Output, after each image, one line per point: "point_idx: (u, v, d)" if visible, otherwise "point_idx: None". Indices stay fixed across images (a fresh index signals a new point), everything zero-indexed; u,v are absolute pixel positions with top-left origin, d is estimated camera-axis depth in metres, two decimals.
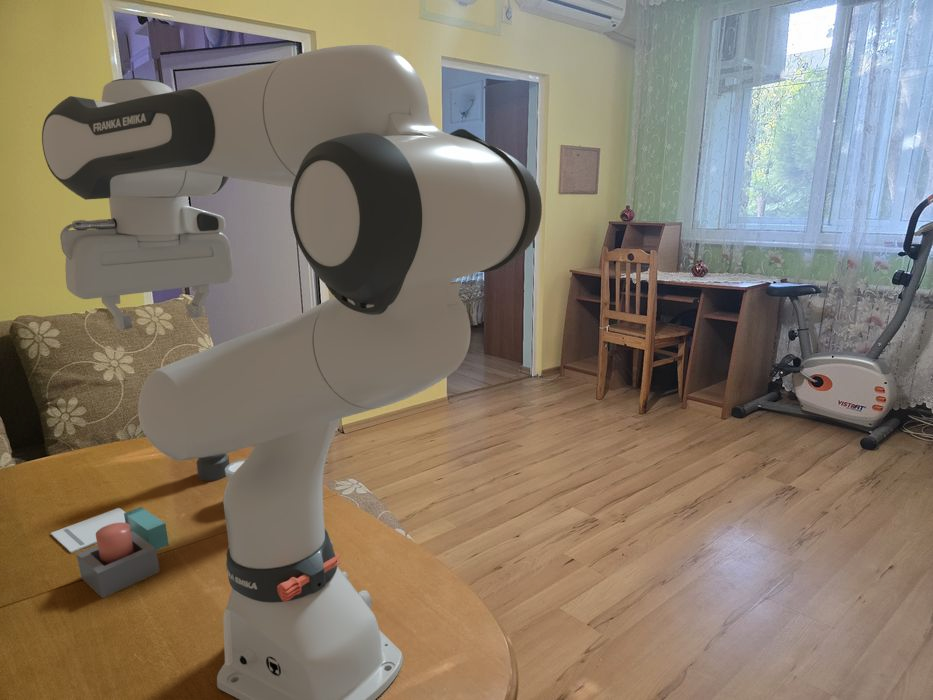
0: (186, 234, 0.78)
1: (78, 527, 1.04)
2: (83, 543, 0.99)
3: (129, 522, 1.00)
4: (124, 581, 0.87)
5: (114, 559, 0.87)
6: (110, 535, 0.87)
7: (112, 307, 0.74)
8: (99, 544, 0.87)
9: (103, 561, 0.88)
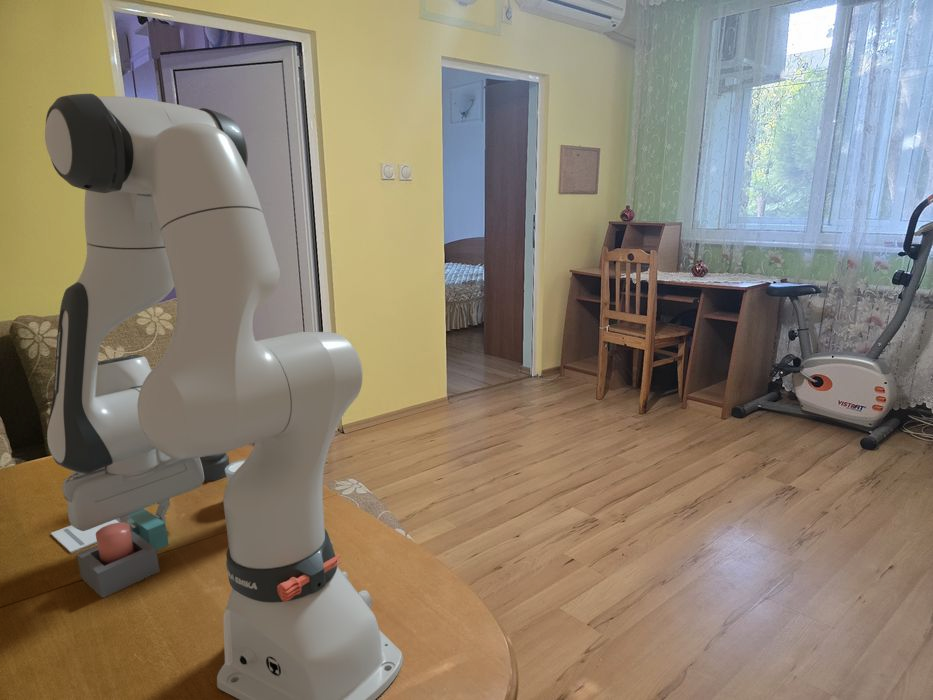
0: None
1: None
2: (83, 543, 0.99)
3: (129, 522, 1.00)
4: (124, 581, 0.87)
5: (114, 559, 0.87)
6: (110, 535, 0.87)
7: None
8: (99, 544, 0.87)
9: (103, 561, 0.88)
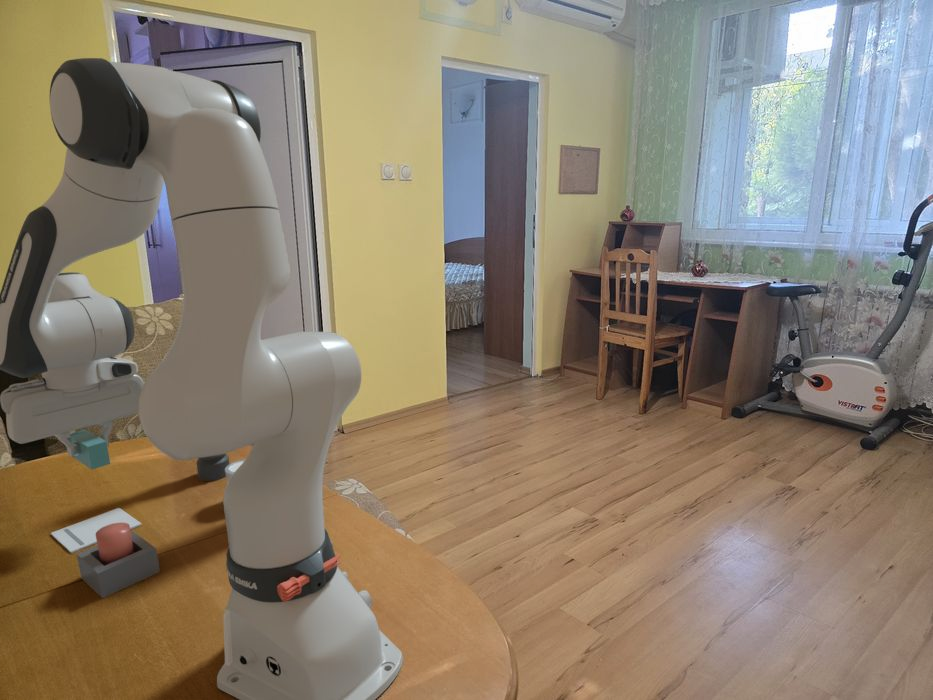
0: (104, 381, 0.99)
1: (78, 527, 1.04)
2: (83, 543, 0.99)
3: (72, 442, 1.01)
4: (124, 581, 0.87)
5: (114, 559, 0.87)
6: (110, 535, 0.87)
7: (64, 441, 0.97)
8: (99, 544, 0.87)
9: (103, 561, 0.88)
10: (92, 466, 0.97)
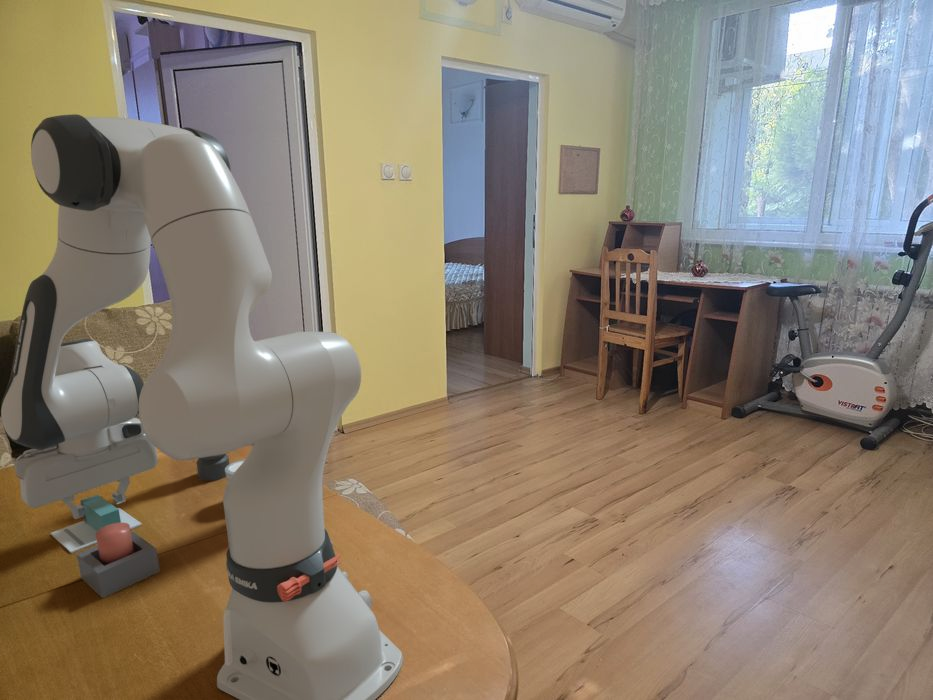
0: None
1: (78, 527, 1.04)
2: (83, 543, 0.99)
3: (85, 508, 1.04)
4: (124, 581, 0.87)
5: (114, 559, 0.87)
6: (110, 535, 0.87)
7: (68, 504, 0.98)
8: (99, 544, 0.87)
9: (103, 561, 0.88)
10: None
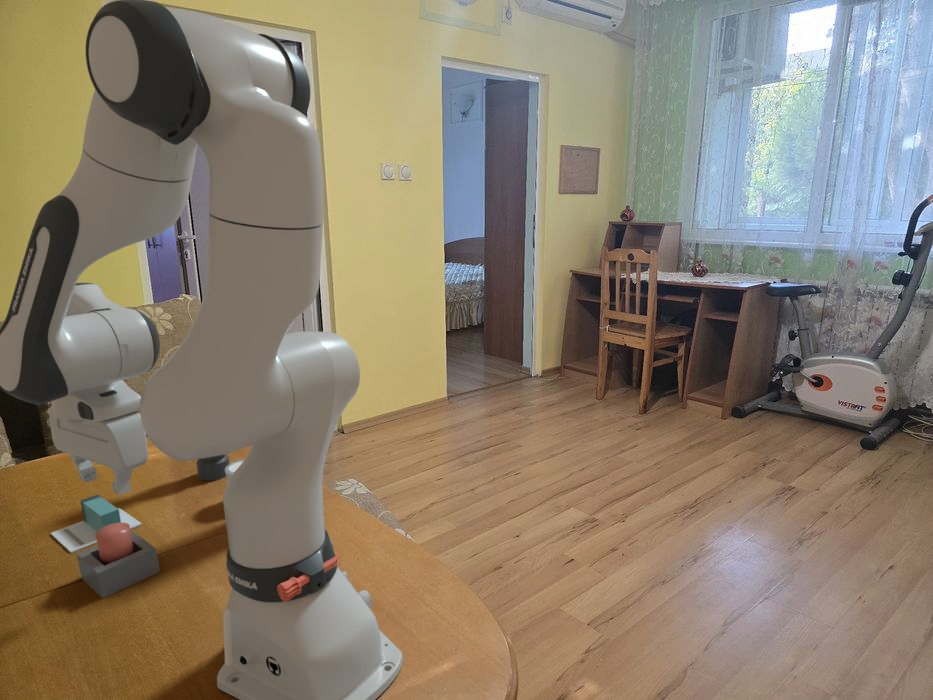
0: None
1: (78, 527, 1.04)
2: (83, 543, 0.99)
3: (85, 508, 1.04)
4: (124, 581, 0.87)
5: (114, 559, 0.87)
6: (110, 535, 0.87)
7: (73, 461, 0.90)
8: (99, 544, 0.87)
9: (103, 561, 0.88)
10: None
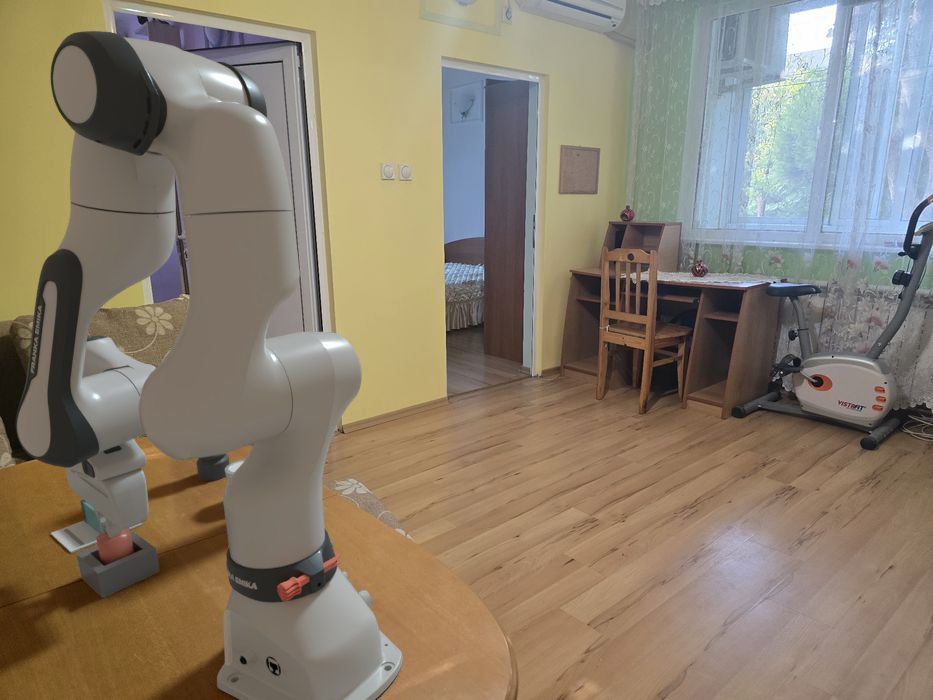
0: None
1: (78, 527, 1.04)
2: (83, 543, 0.99)
3: (85, 508, 1.04)
4: (124, 581, 0.87)
5: None
6: (111, 540, 0.87)
7: (95, 512, 0.89)
8: (100, 548, 0.87)
9: (104, 565, 0.88)
10: None
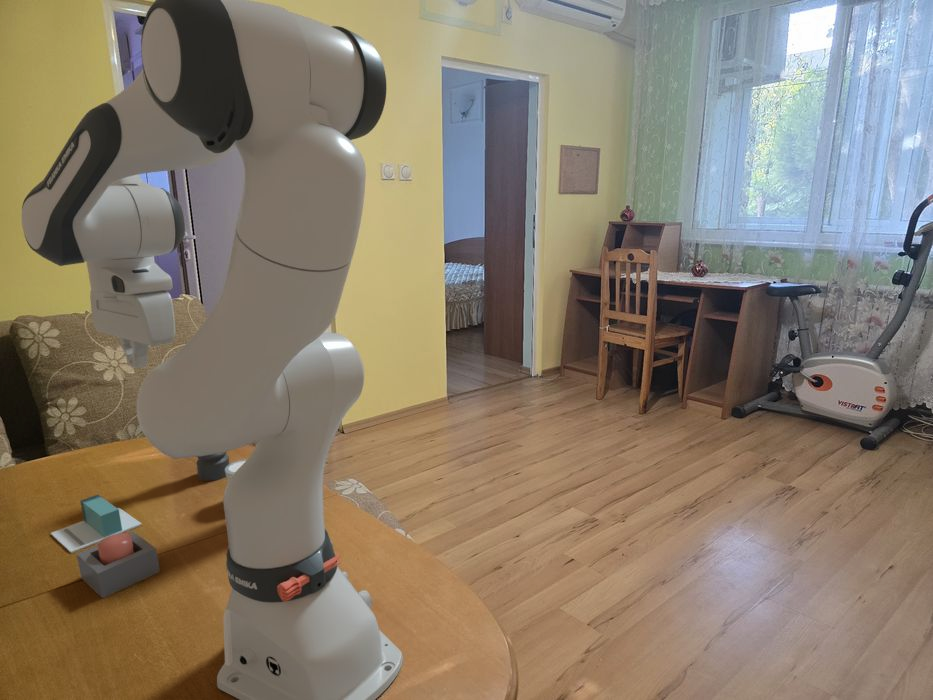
0: None
1: (78, 527, 1.04)
2: (83, 543, 0.99)
3: (85, 508, 1.04)
4: (124, 581, 0.87)
5: None
6: (112, 547, 0.87)
7: (121, 345, 0.92)
8: (101, 555, 0.87)
9: None
10: (105, 534, 1.00)
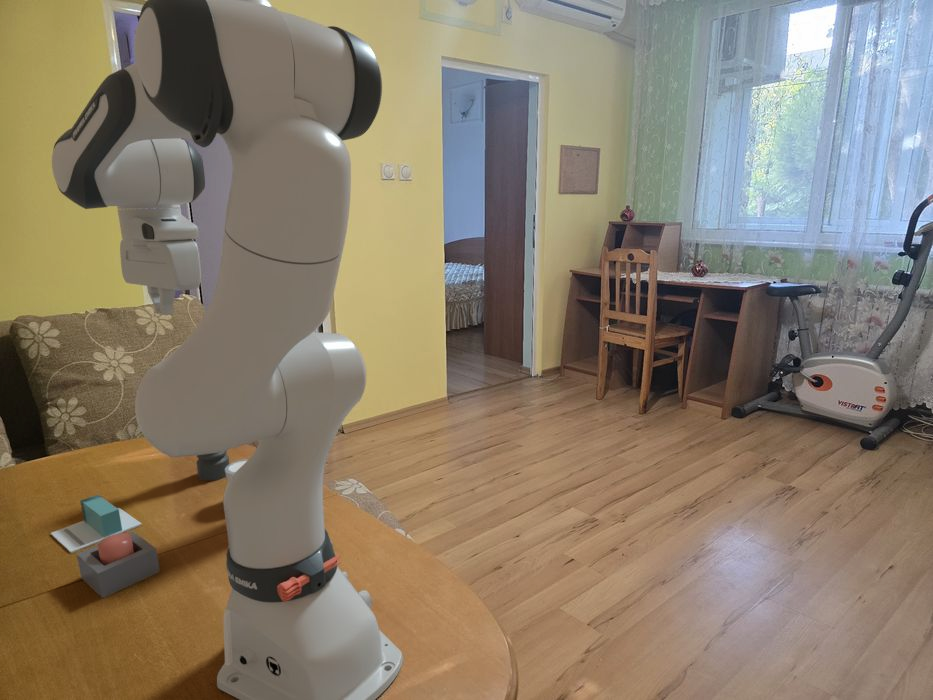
0: None
1: (78, 527, 1.04)
2: (83, 543, 0.99)
3: (85, 508, 1.04)
4: (124, 581, 0.87)
5: None
6: (112, 547, 0.87)
7: (149, 294, 0.97)
8: (101, 555, 0.87)
9: None
10: (105, 534, 1.00)
